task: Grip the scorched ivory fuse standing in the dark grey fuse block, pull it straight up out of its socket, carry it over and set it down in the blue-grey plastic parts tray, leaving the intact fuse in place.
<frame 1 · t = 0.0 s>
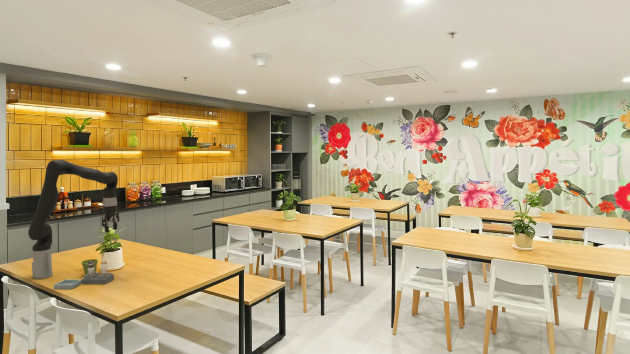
hand: (111, 231, 230), 29 cm above the table, fingers open, 8 cm apart
parts tray: (68, 286, 217), on the table
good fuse: (104, 276, 225), point 3 cm above the table, touching fuse block
blown fuse: (91, 276, 225), point 3 cm above the table, touching fuse block
fuse block: (98, 281, 225), on the table
plant pot: (90, 274, 238), on the table
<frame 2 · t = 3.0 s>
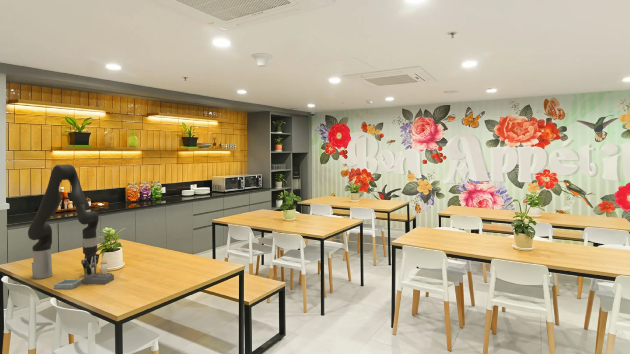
hand: (91, 273, 225), 5 cm above the table, fingers closed on blown fuse, 3 cm apart
blown fuse: (91, 276, 225), point 3 cm above the table, touching fuse block, gripper
everything else where it was.
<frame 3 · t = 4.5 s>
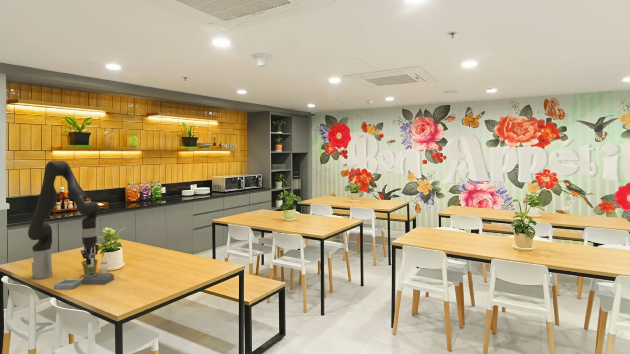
hand: (90, 263, 225), 11 cm above the table, fingers closed on blown fuse, 3 cm apart
blown fuse: (91, 267, 225), point 9 cm above the table, touching gripper
everything else where it was.
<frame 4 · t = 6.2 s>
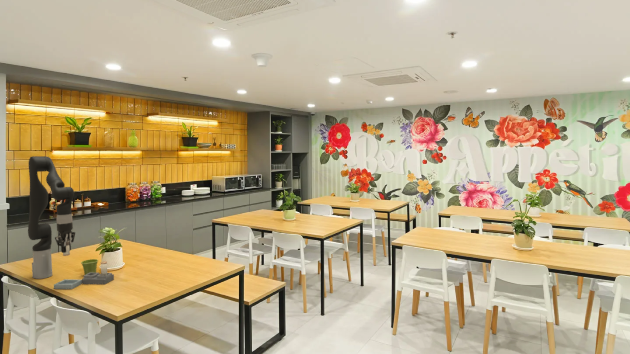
hand: (66, 251, 216), 21 cm above the table, fingers closed on blown fuse, 3 cm apart
blown fuse: (66, 255, 216), point 19 cm above the table, touching gripper
everything else where it was.
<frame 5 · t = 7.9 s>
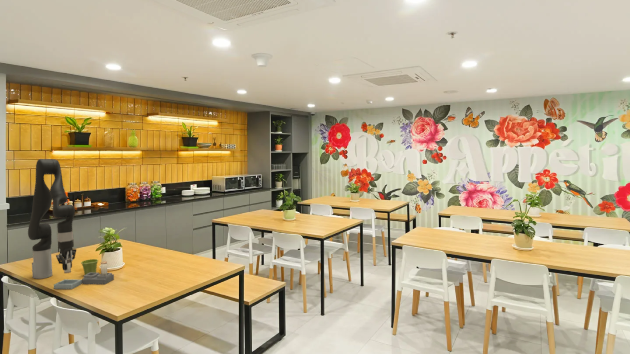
hand: (67, 268, 217), 10 cm above the table, fingers closed on blown fuse, 3 cm apart
blown fuse: (67, 272, 217), point 8 cm above the table, touching gripper
everything else where it was.
when the fingers open (4 cm above the table, at t = 9.5 s): blown fuse stays where it is, resting on parts tray.
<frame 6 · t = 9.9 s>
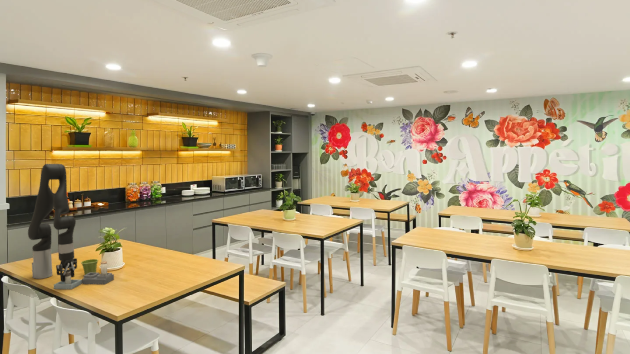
hand: (67, 279, 217), 4 cm above the table, fingers open, 6 cm apart
blown fuse: (68, 285, 217), point 1 cm above the table, touching parts tray
everything else where it was.
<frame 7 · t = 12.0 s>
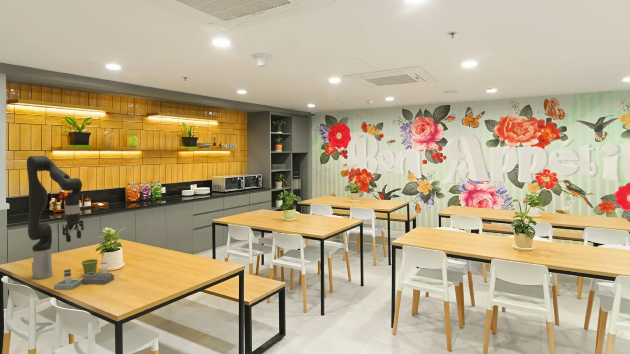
hand: (73, 239, 219), 26 cm above the table, fingers open, 8 cm apart
nothing on the table moved.
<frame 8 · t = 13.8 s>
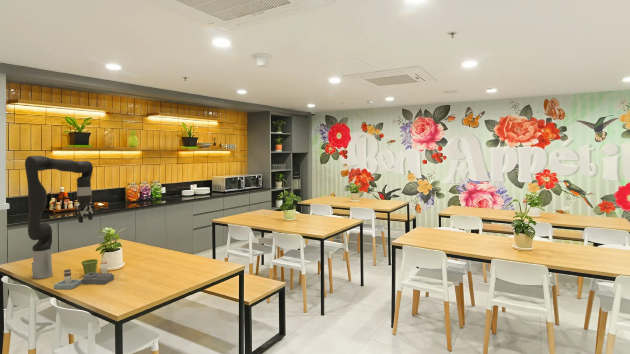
hand: (85, 221, 226), 36 cm above the table, fingers open, 8 cm apart
nothing on the table moved.
at the end: blown fuse inside the target area on the parts tray (0.1 cm from its centre), point 0.6 cm above the parts tray's base; blown fuse moved 12.2 cm from its start; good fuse moved 0.0 cm from its start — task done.
